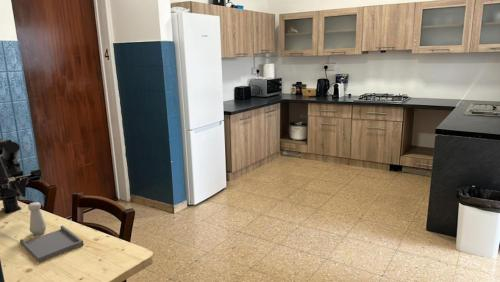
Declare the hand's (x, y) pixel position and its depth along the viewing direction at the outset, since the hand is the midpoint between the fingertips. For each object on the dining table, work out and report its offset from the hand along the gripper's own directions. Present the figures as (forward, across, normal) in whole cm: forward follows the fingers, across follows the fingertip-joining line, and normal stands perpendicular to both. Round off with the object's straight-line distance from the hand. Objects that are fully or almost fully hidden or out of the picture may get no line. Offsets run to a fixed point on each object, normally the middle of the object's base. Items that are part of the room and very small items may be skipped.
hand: (24, 196), depth 151 cm
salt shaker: (+17, 0, -2) cm, 17 cm away
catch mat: (+26, 0, +8) cm, 27 cm away
